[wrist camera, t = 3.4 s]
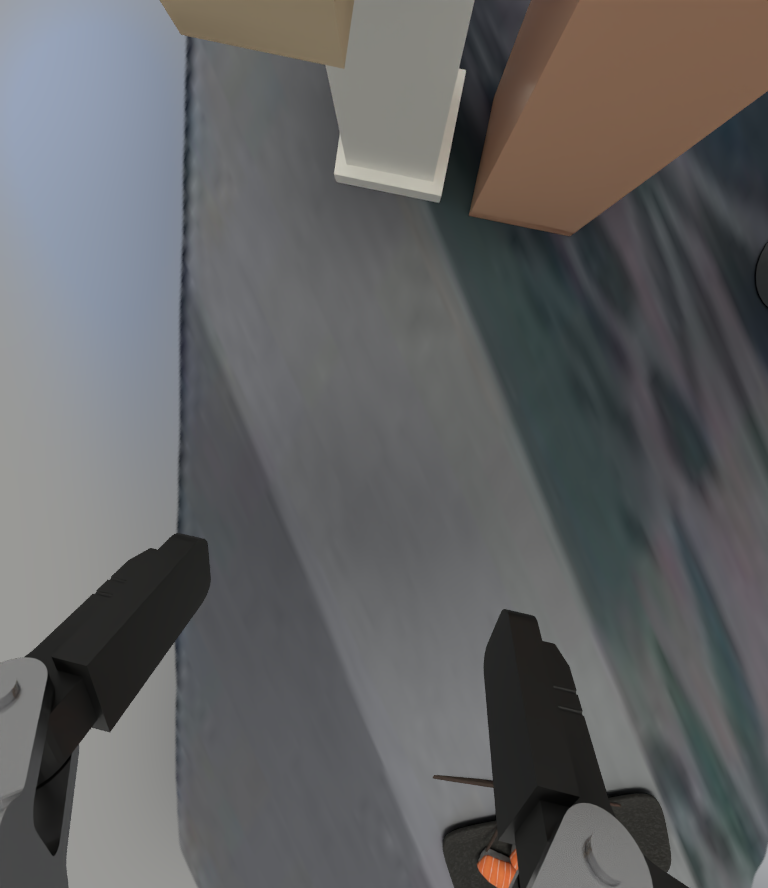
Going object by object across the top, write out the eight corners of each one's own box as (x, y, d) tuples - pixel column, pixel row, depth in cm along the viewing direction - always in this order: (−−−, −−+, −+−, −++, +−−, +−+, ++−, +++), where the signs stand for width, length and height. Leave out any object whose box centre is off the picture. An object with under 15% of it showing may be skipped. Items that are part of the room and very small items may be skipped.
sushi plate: (460, 896, 54) (465, 935, 51) (405, 728, 49) (406, 758, 45) (665, 857, 52) (686, 895, 49) (631, 677, 47) (652, 704, 43)
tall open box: (569, 236, 37) (893, -2, 13) (468, 215, 36) (612, -64, 13) (600, 119, 35) (1046, -409, 11) (494, 97, 34) (717, -489, 11)
